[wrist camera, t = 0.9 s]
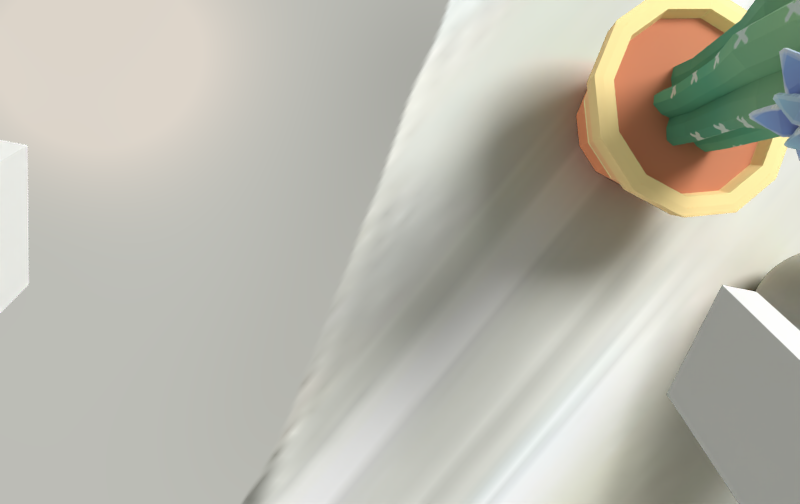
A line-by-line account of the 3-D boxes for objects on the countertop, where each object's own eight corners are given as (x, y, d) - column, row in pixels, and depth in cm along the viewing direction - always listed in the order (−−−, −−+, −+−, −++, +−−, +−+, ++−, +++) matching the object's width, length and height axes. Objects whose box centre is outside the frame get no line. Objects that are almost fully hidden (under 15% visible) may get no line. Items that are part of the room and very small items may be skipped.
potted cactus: (508, 60, 48) (784, -155, 24) (676, 6, 51) (1065, -229, 27) (577, 255, 49) (911, 241, 24) (737, 188, 52) (1166, 118, 28)
